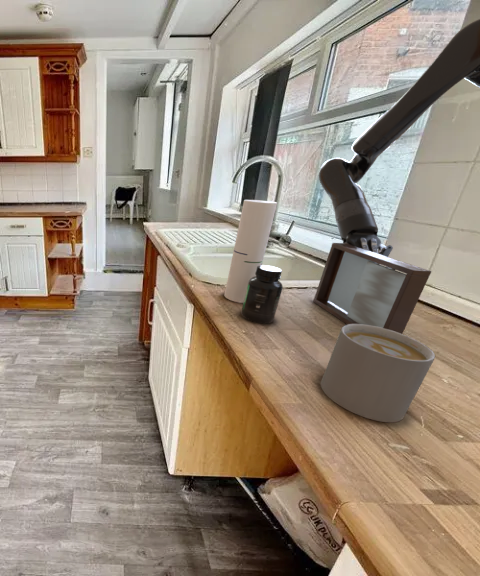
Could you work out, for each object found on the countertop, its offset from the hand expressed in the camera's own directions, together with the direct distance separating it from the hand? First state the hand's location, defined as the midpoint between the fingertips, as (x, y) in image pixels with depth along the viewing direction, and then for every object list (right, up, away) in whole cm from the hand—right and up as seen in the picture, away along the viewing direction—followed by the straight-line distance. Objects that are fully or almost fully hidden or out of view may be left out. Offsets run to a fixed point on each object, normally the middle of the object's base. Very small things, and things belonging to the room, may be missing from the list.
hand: (373, 279), depth 75 cm
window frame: (-9, -10, -4) cm, 14 cm away
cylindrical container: (-30, -5, +7) cm, 31 cm away
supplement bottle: (-31, -9, -4) cm, 32 cm away
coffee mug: (-27, -18, -27) cm, 42 cm away
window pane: (-4, -7, 0) cm, 8 cm away
